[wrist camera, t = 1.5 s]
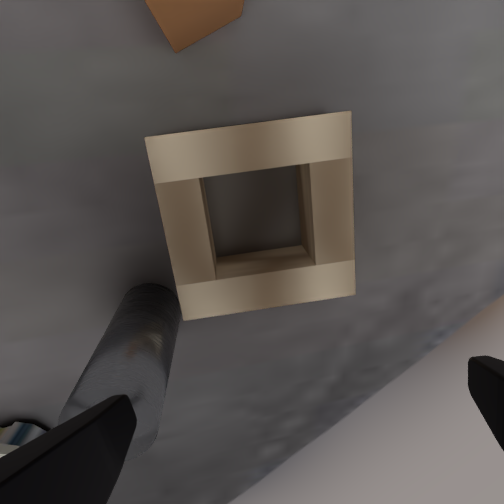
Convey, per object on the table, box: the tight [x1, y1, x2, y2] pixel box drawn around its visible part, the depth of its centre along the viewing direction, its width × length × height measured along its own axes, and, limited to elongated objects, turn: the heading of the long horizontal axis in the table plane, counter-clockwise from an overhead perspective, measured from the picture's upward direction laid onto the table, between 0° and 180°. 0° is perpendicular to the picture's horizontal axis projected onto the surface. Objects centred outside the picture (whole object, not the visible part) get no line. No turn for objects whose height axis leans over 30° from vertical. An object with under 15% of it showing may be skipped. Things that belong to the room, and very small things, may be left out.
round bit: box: [59, 283, 181, 461], centre depth 19 cm, size 4×4×10 cm
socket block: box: [144, 111, 355, 321], centre depth 21 cm, size 10×10×4 cm
